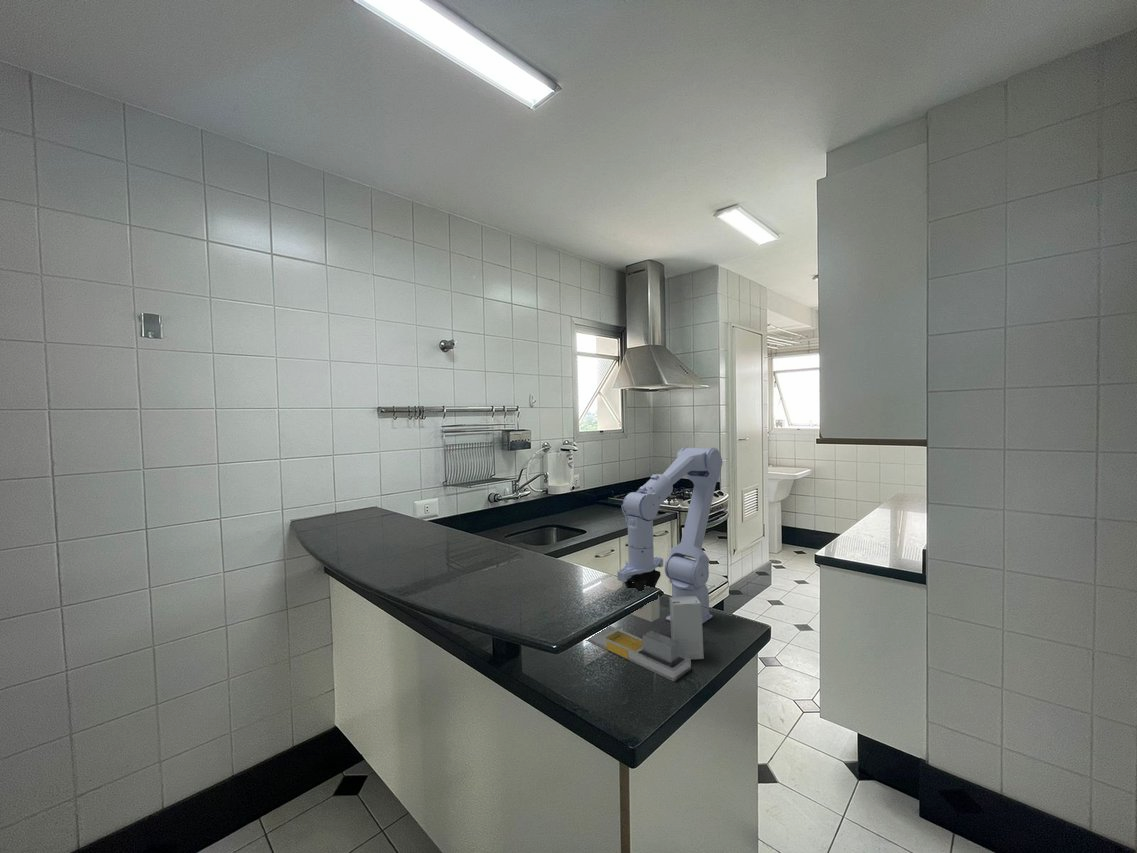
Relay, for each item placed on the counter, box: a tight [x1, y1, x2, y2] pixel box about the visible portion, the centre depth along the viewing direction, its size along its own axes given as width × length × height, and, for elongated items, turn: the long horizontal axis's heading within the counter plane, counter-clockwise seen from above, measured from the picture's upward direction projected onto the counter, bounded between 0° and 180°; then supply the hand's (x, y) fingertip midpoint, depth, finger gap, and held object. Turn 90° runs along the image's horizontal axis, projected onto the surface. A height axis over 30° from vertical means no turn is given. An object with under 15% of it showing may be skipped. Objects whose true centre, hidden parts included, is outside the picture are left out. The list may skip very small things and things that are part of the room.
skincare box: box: [668, 596, 705, 660], centre depth 93 cm, size 6×4×12 cm
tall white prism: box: [630, 594, 660, 623], centre depth 100 cm, size 3×7×5 cm, turn 43°
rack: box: [586, 625, 692, 682], centre depth 97 cm, size 6×29×6 cm, turn 43°
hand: (642, 604), depth 100 cm, fingers closed on tall white prism, 3 cm apart
